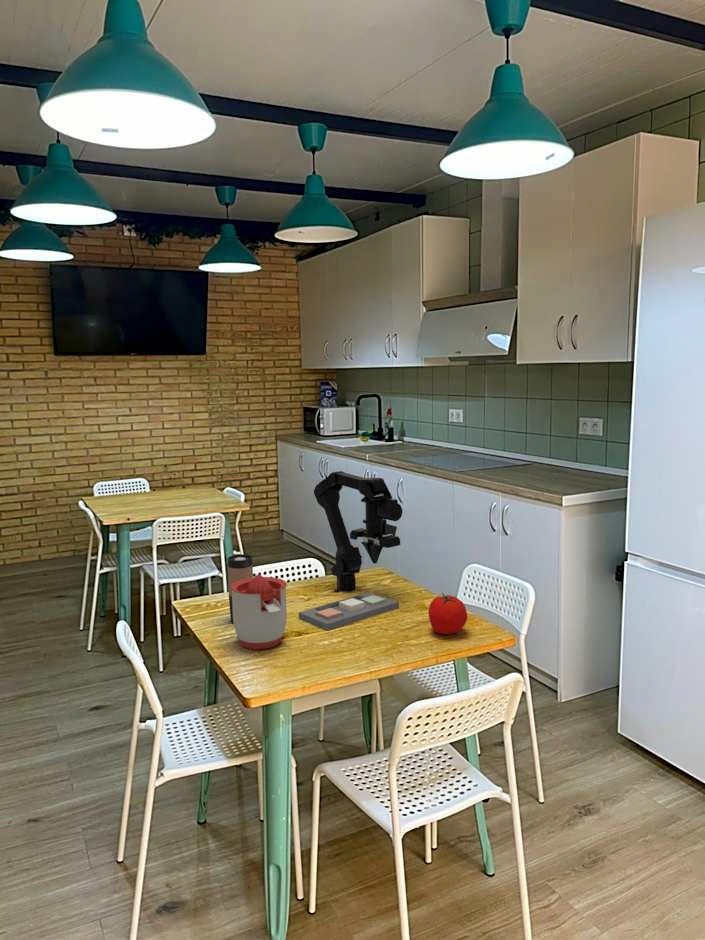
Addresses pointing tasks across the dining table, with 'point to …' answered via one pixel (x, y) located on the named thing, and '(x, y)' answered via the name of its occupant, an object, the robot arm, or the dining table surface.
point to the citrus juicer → (259, 611)
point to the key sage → (373, 600)
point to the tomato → (447, 614)
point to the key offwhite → (351, 605)
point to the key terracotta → (329, 613)
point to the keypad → (347, 616)
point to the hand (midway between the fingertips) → (374, 563)
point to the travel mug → (238, 573)
